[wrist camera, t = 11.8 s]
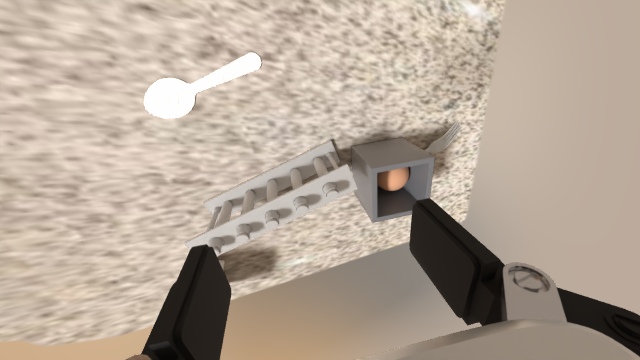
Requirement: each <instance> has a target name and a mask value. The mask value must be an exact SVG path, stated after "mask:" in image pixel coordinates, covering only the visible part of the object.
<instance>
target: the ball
mask: <svg viewBox="0 0 640 360" xmlns="http://www.w3.org/2000/svg"><path fill="white" fill-rule="evenodd" d="M408 178H409V169H408V167H405V168H400V169H395V170H390V171H384V172H379V173H377V185H378V186H379V187H381V188H382V189H384V190H388V191H394V190H398V189H400V188H402V187H403V186H404V185H405V184H406V183H407V181H408Z"/></svg>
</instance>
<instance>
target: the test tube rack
mask: <svg viewBox="0 0 640 360" xmlns="http://www.w3.org/2000/svg"><path fill="white" fill-rule="evenodd" d="M339 162H340V160H339V157H338V155H337V153H336V150H335V148H334V146H333V144H332V141H331V140H329V141H327V142H325V143H323V144H320V145H318V146H316V147H314V148H312V149H310V150H308V151H306V152H304V153H302V154H300V155H298V156H296V157H294V158H292V159H290V160H288V161H286V162H284V163H282V164H280V165H278V166H276V167H274V168H272V169H269V170H267V171H265V172H263V173H261V174H259V175H257V176H255V177H253V178H251V179H249V180H247V181H245V182H243V183H241V184H239V185H237V186H235V187H233V188H231V189H229V190H227V191H225V192H223V193H220V194H218V195H216V196H214V197H212V198H210V199H208V200H206V201H204V203H203V204H204V206H205V207H206V208H207V209H208V210H209V211H210V212H211V214H212V215H213V216H212V218H211V221H210V223H209V226H208V228H207V231H206V232H204V233H202V234H200V235H198V236H196V237H194V238H192V239H190V240H188V241H186V242H185V243H184V244H185V245H186V246H187V247H188V248H189V249H191V248H192V247H194V246H199V245H204V244H207V245H208V246H209V247H213V249H214V251H215V253H216V255H217V257H218V256H219V255H221V254H223V253H225V252H227V251H229V250H231V249H233V248H236V247H238V246H240V245H242V244H246V243H247V242H248V241H250V240H252V239H254V238H256V237H259V236H261V235H263V234H265V233H267V232H269V231H271V230H275V229H277V228H278V227H280V226H282V225H284V224H286V223H288V222H290V221H292V220H294V219H296V218H298V217H300V216H304V215H306V214H307V213H309V212H311V211H313V210H315V209H317V208H319V207H321V206H323V205H326V204H328V203H330V202H333V201H336V200H337V199H338V198H340V197H342V196H344V195H347V194H349V193H351V192H353V191H355V190H357V189H358V188H357V186H356V183H355V181H354V179H353V176H352V174H351V171H350V169H349V167H348V164H345V165H343V166H341V167H338V165H337V163H339ZM331 166H332V167H333V168H334V170H332V171H330V172H328V170H327V168H329V167H331ZM316 173H317V174H318V178H316V179H314V180H312V181H310V182H308V183H306V184H303V183H302V180H304V179H306V178H308V177H310V176H312V175H314V174H316ZM290 186H292V189H293V190H291V191H289V192H287V193H285V194H283V195H281V196H279V197H278V192H279V191H281V190H283V189H286V188H288V187H290ZM323 190H324V191H323ZM265 198H267V202H266V203H264V204H262V205H260V206H258V207H256V208H254V204H255V203H257V202H259V201H261V200H263V199H265ZM294 202H295V204H294ZM253 208H254V209H253ZM240 210H242V211H241V215H239V216H237V217H235V218H233V219H231V220H229V219H230V216H231V215H232V214H234V213H236V212H238V211H240ZM216 219H217V223H216V226H215V228H214V225H215V222H216ZM237 227H238V229H237ZM250 230H251V231H250ZM210 239H211V240H210ZM223 242H224V243H223Z"/></svg>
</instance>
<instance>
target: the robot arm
mask: <svg viewBox="0 0 640 360" xmlns="http://www.w3.org/2000/svg"><path fill="white" fill-rule="evenodd" d="M410 251H411V253H412V254H413V256H414V257H415V259H416V260H417V261H418V263H419V264H420V266H421V267H422V268H423V270H424V271H425V273H426V274H427V275H428V277H429V278H430V279H431V281H432V282H433V284H434V285H435V286H436V288H437V289H438V291H439V292H440V293H441V295H442V296H443V297H444V299H445V300H446V302H447V303H448V305H449V306H450V307H451V309H452V310H453V311H454V313H455V314H456V315H457V316H458V317H459V318H462V319H463V320H464V321H465V323H466V324H467V325H471V324H474V323H478V322H480V324H481V325H482V326H481V327H477V328H473V329H469V330H465V331H461V332H456V333H453V334H449V335H446V336H441V337H438V338H434V339H430V340H427V341H422V342H419V343H415V344H411V345H407V346H404V347H400V348H396V349H392V350H389V351H385V352H382V353H378V354H374V355H370V356H367V357H363V358H360V359H356V360H640V316H639V315H638V314H636V313H633V312H631V311H628V310H626V309H623V308H620V307H617V306H614V305H610V304H607V303H604V302H601V301H598V300H595V299H592V298H589V297H585V296H582V295H579V294H576V293H573V292H570V291H567V290H563V289H560V288H557V287H556V285H555V283H554V281H553V280H552V279H551V278H550V277H549V276H548V275H547V274H546V273H544V272H543V271H541V270H539V269H538V268H535V267H534V266H531V265H528V264H524V263H509V264H506V265H504V264H503V263H502V262H501V261H500V259H499V258H498V257H496V256H495V255H494V254H493V253H492V252H491V251H490V250H488V249H487V248H486V247H485V246H484V245H483V244H482V243H480V242H479V241H478V240H477V239H476V238H475V237H474V236H472V235H471V234H470V233H469V232H468V231H467V230H466V229H464V228H463V227H462V226H461V225H460V224H459V223H458V222H457V221H455V220H454V219H453V218H452V217H451V216H450V215H449V214H447V213H446V212H445V211H444V210H443V209H442V208H441V207H439V206H438V205H437V204H436V203H435V202H434V201H433V200H431V199H430V198H426V199H421V200H417V201H416V203H415V204H414V205H413V208H412V220H411V233H410ZM230 299H231V287H230V285H229V282H228V280H227V278H226V276H225V273H224V271H223V269H222V267H221V264H220V262H219V260H218V258H217V255H216V253H215V251H214V249H213V247H209V246H208V245H207V244H204V245H199V246H194V247H192V248H191V249H190V252H189V254H188V256H187V258H186V261H185V263H184V265H183V268H182V270H181V272H180V274H179V277H178V279H177V281H176V282H175V283H174V284H173V285H172V287H171V289H170V291H169V293H168V296H167V298H166V300H165V302H164V304H163V307H162V309H161V311H160V313H159V316H158V318H157V320H156V322H155V324H154V327H153V329H152V331H151V333H150V335H149V338H148V340H147V342H146V344H145V347H144V349H143V351H142V353H141V354H140V355H134V356H132V357H130V358H128V359H126V360H220V354H221V349H222V343H223V337H224V332H225V327H226V321H227V315H228V309H229V304H230Z"/></svg>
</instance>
